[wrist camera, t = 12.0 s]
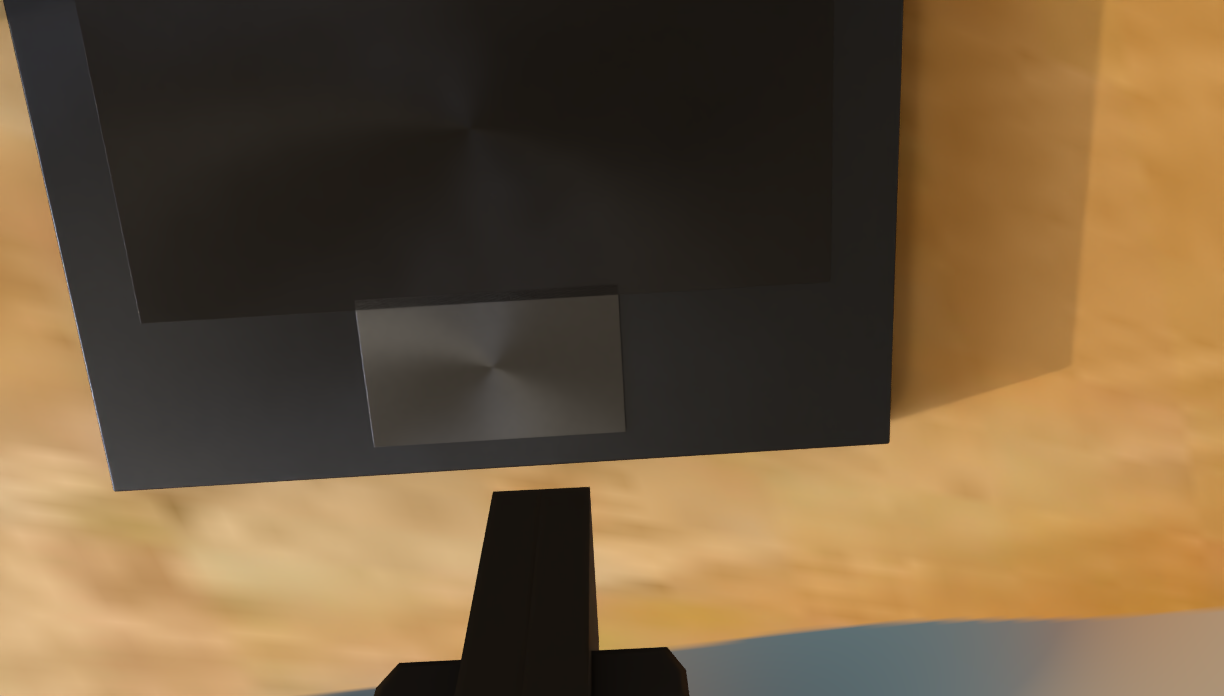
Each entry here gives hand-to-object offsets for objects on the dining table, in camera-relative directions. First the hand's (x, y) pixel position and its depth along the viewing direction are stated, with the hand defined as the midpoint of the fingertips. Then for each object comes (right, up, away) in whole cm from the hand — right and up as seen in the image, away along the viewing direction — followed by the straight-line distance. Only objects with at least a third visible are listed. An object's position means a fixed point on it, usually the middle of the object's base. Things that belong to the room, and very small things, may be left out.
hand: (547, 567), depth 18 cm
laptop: (-4, +9, +24) cm, 26 cm away
